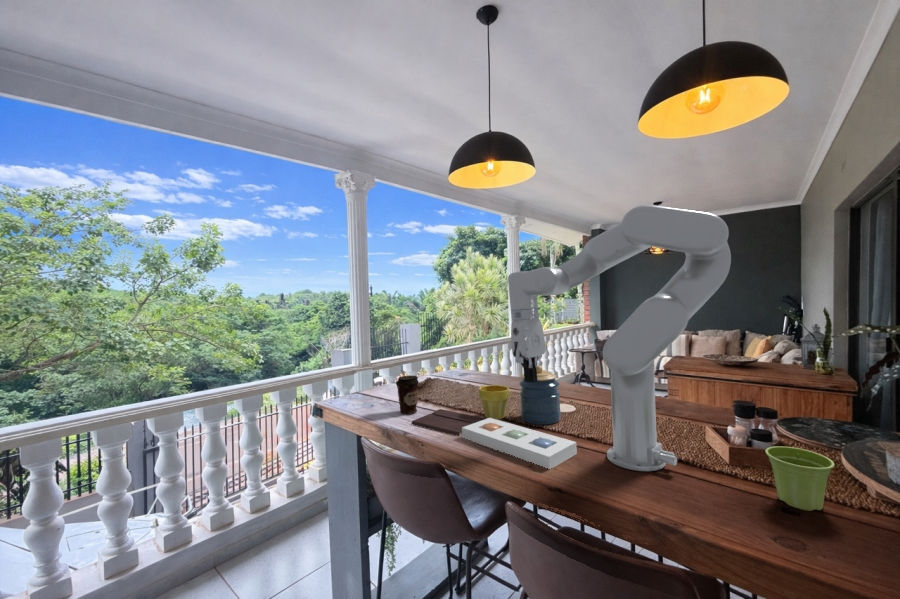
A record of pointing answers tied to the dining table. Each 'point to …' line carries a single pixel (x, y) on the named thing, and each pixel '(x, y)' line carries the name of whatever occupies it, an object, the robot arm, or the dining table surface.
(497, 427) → the rust button
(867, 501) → the dining table surface
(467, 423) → the notebook
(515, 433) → the sage button
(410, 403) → the coffee cup
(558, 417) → the canister
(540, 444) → the slate button
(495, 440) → the button panel
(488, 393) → the plant pot
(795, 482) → the plant pot
